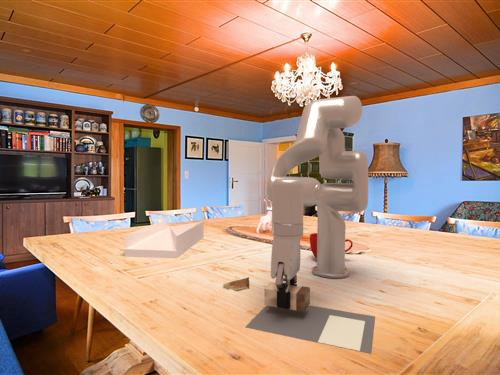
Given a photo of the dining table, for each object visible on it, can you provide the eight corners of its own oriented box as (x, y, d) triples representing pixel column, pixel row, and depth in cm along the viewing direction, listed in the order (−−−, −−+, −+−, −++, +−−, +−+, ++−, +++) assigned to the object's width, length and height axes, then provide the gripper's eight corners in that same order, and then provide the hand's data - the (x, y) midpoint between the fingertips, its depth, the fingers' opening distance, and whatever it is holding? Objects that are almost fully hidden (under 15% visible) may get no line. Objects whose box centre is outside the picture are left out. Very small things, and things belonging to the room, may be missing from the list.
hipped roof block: (176, 259, 133) (176, 236, 133) (124, 257, 135) (124, 234, 135) (203, 238, 178) (203, 221, 177) (164, 237, 180) (164, 220, 180)
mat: (272, 301, 88) (272, 298, 88) (375, 318, 78) (375, 316, 78) (244, 329, 72) (244, 326, 72) (370, 356, 62) (370, 353, 62)
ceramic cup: (354, 266, 124) (354, 240, 124) (308, 263, 128) (309, 237, 127) (350, 257, 137) (351, 234, 137) (309, 255, 140) (310, 232, 140)
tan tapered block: (264, 304, 80) (264, 288, 79) (271, 297, 84) (271, 281, 84) (304, 312, 76) (304, 294, 75) (309, 303, 80) (309, 287, 80)
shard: (248, 281, 106) (248, 276, 106) (265, 287, 101) (265, 282, 101) (222, 288, 99) (222, 283, 99) (238, 296, 93) (238, 289, 93)
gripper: (283, 223, 88) (282, 289, 89) (260, 234, 73) (260, 314, 74) (310, 225, 85) (310, 293, 86) (292, 237, 70) (292, 320, 71)
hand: (287, 302), depth 80 cm, fingers closed on tan tapered block, 5 cm apart
